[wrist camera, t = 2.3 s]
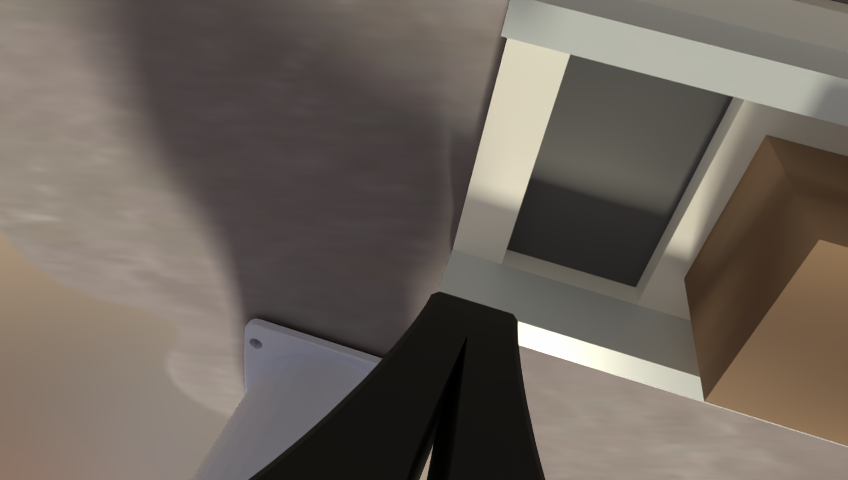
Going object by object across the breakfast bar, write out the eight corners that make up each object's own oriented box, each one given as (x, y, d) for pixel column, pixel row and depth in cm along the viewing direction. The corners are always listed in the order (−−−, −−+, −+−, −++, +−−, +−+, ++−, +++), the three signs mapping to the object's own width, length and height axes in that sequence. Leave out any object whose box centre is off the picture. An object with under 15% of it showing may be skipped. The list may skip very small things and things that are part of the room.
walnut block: (849, 327, 16) (917, 467, 13) (684, 278, 16) (704, 401, 13) (966, 187, 13) (1092, 315, 10) (766, 134, 14) (819, 240, 10)
